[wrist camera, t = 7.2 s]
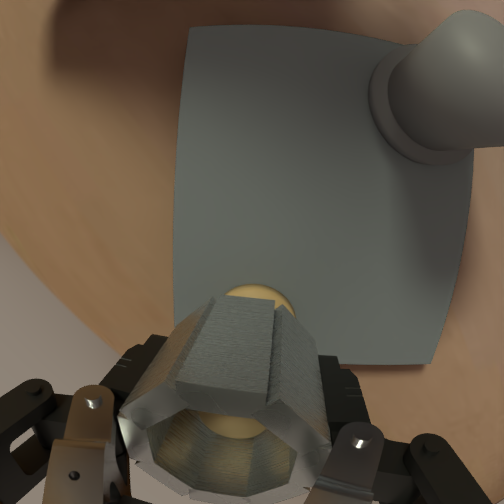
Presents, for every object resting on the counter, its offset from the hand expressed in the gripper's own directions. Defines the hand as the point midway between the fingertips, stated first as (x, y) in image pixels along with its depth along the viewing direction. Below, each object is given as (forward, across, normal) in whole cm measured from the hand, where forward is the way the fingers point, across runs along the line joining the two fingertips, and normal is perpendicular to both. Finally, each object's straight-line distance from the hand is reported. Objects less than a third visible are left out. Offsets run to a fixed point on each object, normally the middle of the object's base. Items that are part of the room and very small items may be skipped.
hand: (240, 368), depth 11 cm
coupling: (+1, 0, 0) cm, 1 cm away
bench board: (+5, -3, -6) cm, 8 cm away
